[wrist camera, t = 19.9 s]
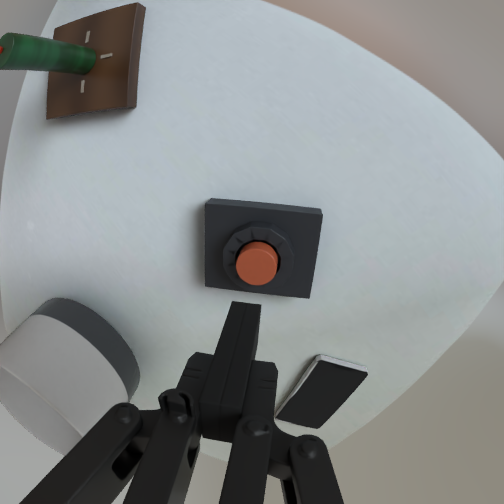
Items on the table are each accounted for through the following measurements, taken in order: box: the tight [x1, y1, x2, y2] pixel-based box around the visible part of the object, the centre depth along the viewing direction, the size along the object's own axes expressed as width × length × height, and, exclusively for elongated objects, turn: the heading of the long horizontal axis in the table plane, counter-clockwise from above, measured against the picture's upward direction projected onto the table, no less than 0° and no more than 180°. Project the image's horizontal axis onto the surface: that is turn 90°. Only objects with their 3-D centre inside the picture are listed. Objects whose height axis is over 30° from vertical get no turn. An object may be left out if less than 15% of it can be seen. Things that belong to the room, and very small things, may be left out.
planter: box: [0, 298, 140, 456], centre depth 33 cm, size 19×19×18 cm
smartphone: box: [275, 355, 368, 429], centre depth 39 cm, size 8×1×15 cm
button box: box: [205, 198, 323, 299], centre depth 29 cm, size 11×9×4 cm
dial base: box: [46, 2, 146, 119], centre depth 24 cm, size 12×12×2 cm
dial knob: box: [0, 33, 96, 75], centre depth 18 cm, size 3×3×12 cm
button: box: [236, 242, 278, 285], centre depth 27 cm, size 4×4×2 cm
